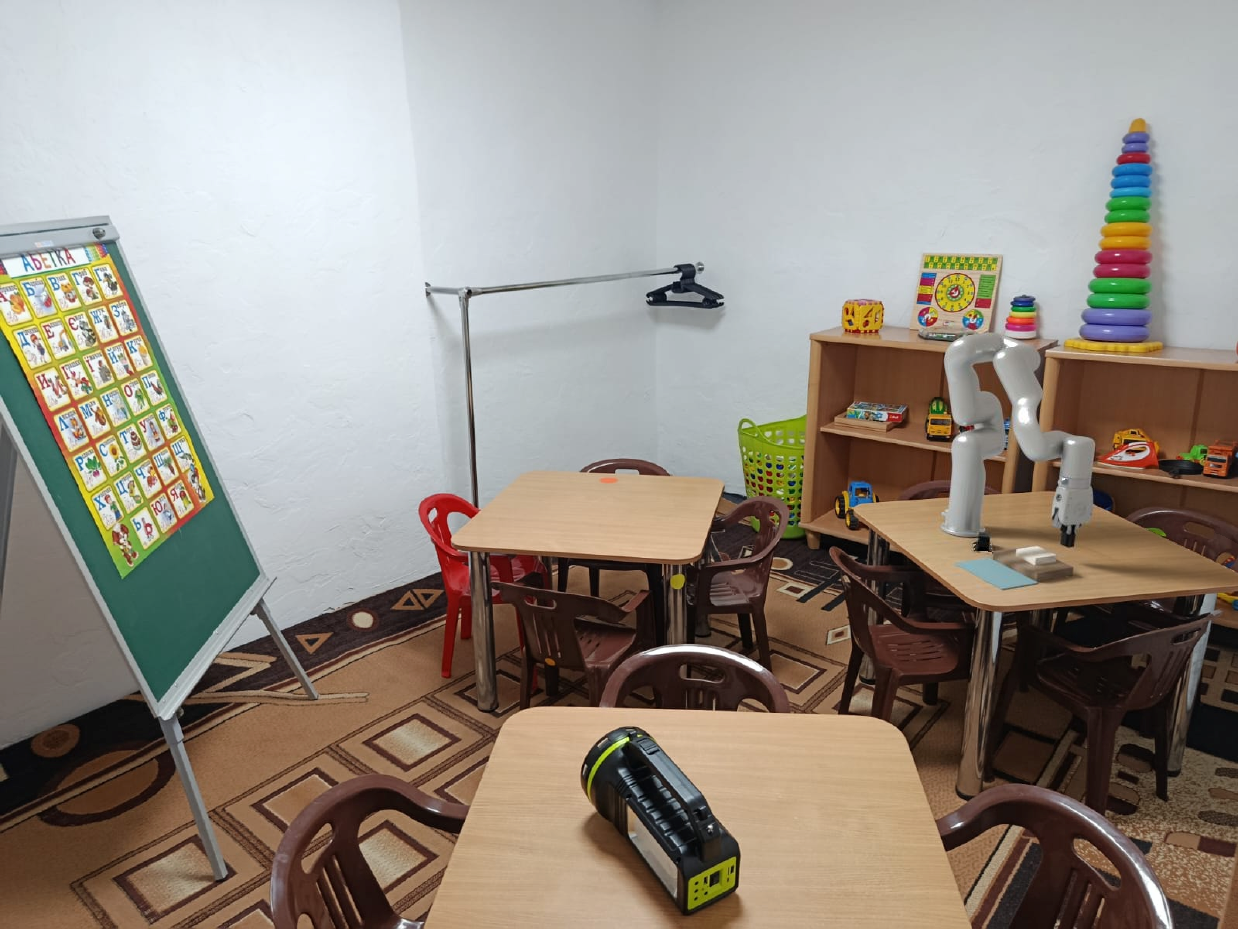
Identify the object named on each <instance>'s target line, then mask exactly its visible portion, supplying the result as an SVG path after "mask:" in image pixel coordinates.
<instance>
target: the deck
mask: <svg viewBox="0 0 1238 929" xmlns="http://www.w3.org/2000/svg"><path fill="white" fill-rule="evenodd" d="M1027 547H1030V546H1029V545H1028V546H1020V547H1015V548H1008V549H1002V550H995V551H994V552H993V554H992V559H993V560H995V561H997V562H999V563H1001V564H1003V565H1005V566H1007V567H1009V568H1011V569H1012V570H1014V571H1016V572H1018V573H1020V574H1022V575H1024V576H1026V577H1028V578H1030V579H1032V580H1034V581H1036V582H1038V583H1039V582H1044V581H1049V580H1050V581H1051V580H1055V578H1057V579H1062V577H1063V578H1067V577H1066V576H1069V577H1072V576H1073V573H1074V572H1073V571H1074V566H1072V565H1069V564H1067V563H1066V562H1063V561H1061V560H1059V559H1057V558H1056V562H1052V563H1045V564H1039V565H1034V564H1032V563H1029V562H1027V561H1025V560H1023V559H1021V558H1019V557H1017V556H1016V549H1020V548H1027ZM1071 575H1072V576H1071Z"/></svg>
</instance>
